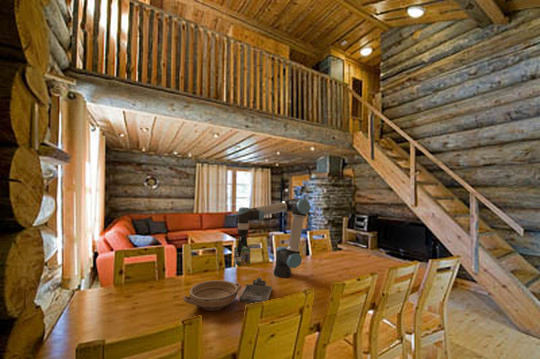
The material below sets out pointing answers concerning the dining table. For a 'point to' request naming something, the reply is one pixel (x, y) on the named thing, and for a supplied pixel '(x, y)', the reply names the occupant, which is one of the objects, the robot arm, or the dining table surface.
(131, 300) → the dining table surface
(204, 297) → the ceramic bowl
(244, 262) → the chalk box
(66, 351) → the dining table surface
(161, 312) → the dining table surface
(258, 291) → the motor base
